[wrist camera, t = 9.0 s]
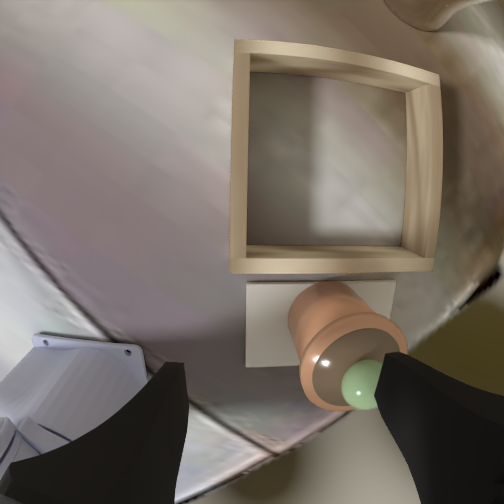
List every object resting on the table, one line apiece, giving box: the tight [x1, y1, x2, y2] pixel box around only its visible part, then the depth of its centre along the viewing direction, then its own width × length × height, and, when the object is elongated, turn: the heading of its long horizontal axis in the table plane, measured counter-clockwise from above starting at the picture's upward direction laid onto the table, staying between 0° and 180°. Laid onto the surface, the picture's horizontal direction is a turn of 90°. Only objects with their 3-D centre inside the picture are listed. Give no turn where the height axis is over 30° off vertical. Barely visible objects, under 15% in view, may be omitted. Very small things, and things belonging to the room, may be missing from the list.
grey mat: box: [245, 280, 396, 367], centre depth 20 cm, size 10×6×1 cm, turn 89°
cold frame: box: [230, 40, 443, 274], centre depth 16 cm, size 12×12×3 cm
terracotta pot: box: [287, 281, 407, 411], centre depth 15 cm, size 6×6×8 cm
